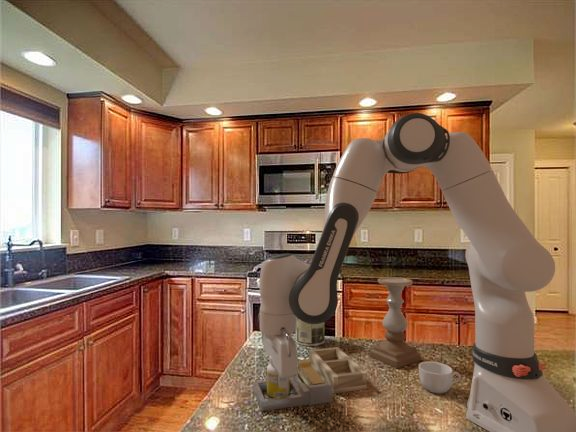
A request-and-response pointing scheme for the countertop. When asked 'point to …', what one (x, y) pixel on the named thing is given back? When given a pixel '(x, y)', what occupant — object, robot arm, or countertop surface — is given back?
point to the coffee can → (309, 333)
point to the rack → (338, 370)
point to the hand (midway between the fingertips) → (278, 380)
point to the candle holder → (395, 328)
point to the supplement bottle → (275, 383)
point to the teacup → (436, 376)
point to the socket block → (300, 397)
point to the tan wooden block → (308, 374)
